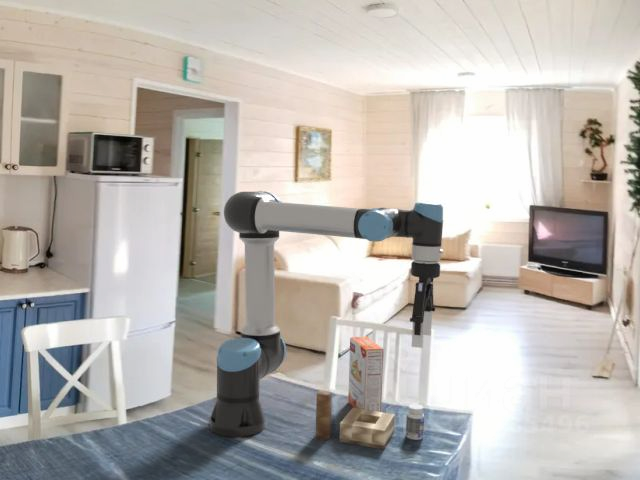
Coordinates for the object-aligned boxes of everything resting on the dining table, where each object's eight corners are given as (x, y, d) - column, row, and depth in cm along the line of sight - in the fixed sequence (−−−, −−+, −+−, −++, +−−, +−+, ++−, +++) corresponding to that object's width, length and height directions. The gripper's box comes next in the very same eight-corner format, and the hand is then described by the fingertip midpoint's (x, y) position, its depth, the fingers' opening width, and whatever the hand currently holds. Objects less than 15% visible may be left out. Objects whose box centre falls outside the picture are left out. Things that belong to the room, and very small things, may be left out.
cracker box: (346, 402, 185) (349, 336, 183) (364, 400, 187) (367, 335, 185) (362, 419, 172) (365, 349, 170) (381, 418, 173) (384, 348, 171)
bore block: (339, 441, 157) (340, 423, 156) (352, 424, 168) (353, 407, 168) (383, 449, 153) (384, 430, 152) (394, 431, 164) (394, 414, 164)
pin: (313, 438, 158) (314, 394, 157) (318, 432, 162) (319, 389, 161) (327, 441, 157) (328, 397, 156) (332, 435, 161) (333, 392, 159)
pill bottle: (422, 441, 159) (424, 410, 158) (405, 439, 160) (406, 408, 159) (423, 433, 163) (425, 404, 163) (406, 431, 164) (407, 402, 163)
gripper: (433, 268, 143) (428, 354, 145) (446, 257, 167) (442, 331, 169) (402, 266, 145) (398, 350, 148) (419, 255, 169) (415, 328, 171)
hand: (421, 340), depth 158 cm, fingers open, 13 cm apart
